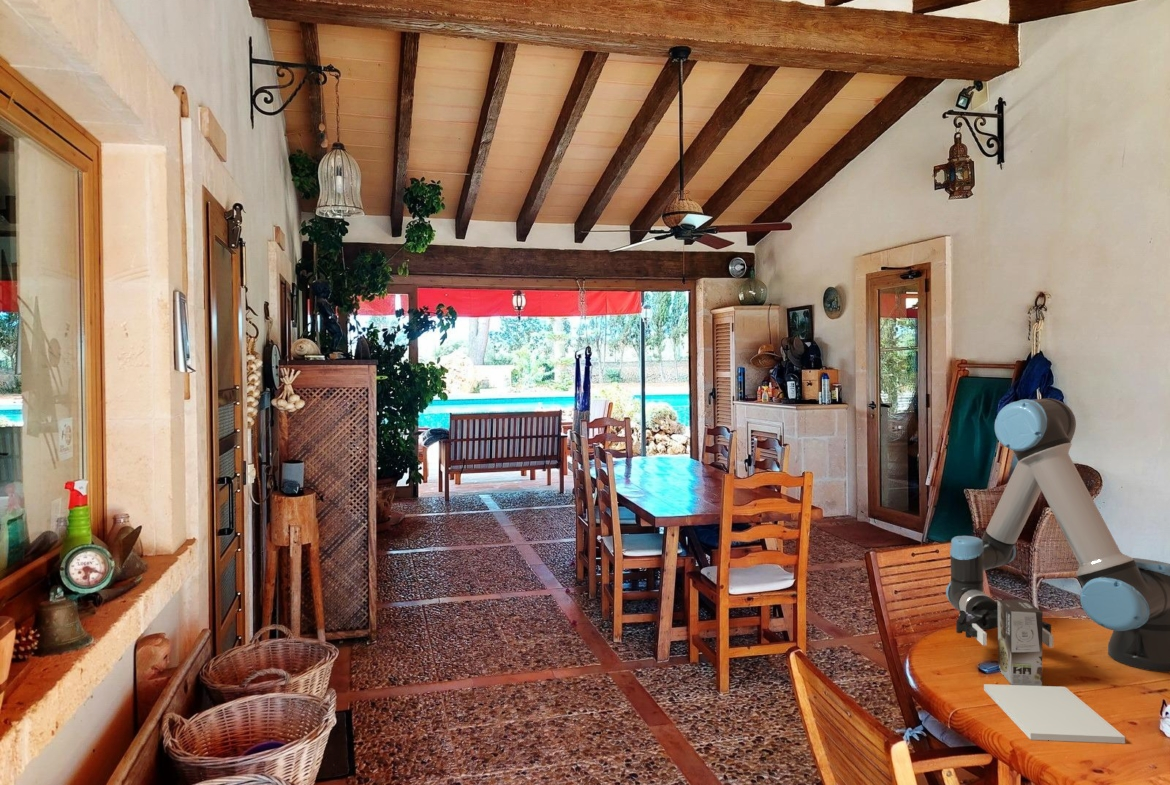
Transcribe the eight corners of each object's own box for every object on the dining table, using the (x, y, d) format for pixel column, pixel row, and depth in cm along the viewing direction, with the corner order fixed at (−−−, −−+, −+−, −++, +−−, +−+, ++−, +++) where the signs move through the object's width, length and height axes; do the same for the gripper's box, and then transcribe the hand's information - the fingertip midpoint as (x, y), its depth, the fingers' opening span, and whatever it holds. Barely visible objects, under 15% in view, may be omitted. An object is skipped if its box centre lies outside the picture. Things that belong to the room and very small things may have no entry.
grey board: (1064, 692, 160) (1064, 686, 160) (1125, 743, 138) (1125, 737, 138) (983, 689, 162) (983, 684, 162) (1030, 739, 141) (1030, 733, 140)
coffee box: (1044, 687, 163) (1043, 612, 162) (1010, 685, 164) (1010, 611, 164) (1028, 671, 172) (1028, 599, 171) (997, 669, 173) (996, 598, 173)
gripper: (1035, 626, 187) (1079, 659, 166) (927, 623, 190) (957, 655, 169) (1035, 595, 187) (1079, 624, 166) (927, 593, 190) (957, 621, 169)
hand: (1017, 640), depth 167 cm, fingers open, 13 cm apart
